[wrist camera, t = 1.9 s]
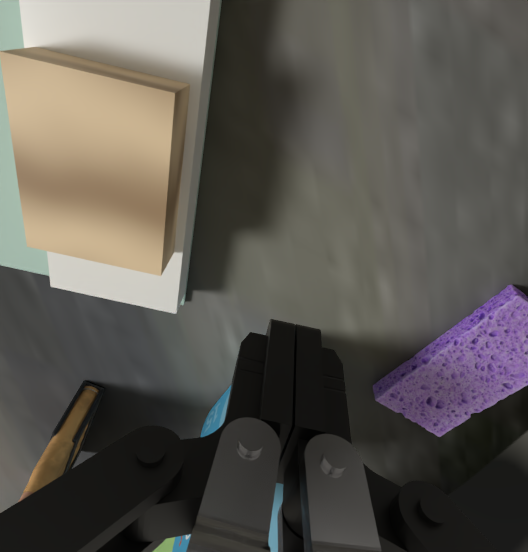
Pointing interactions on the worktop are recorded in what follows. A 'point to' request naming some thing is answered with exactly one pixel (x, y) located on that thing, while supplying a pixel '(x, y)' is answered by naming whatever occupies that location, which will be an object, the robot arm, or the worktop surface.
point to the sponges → (463, 367)
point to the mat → (3, 178)
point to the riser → (151, 60)
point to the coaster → (96, 157)
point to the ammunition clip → (66, 438)
